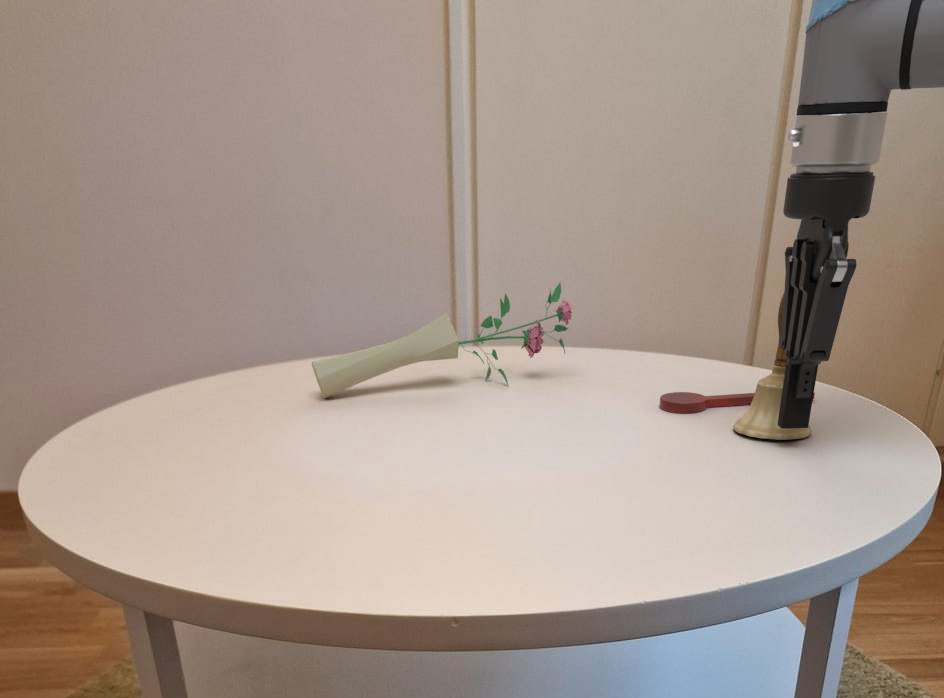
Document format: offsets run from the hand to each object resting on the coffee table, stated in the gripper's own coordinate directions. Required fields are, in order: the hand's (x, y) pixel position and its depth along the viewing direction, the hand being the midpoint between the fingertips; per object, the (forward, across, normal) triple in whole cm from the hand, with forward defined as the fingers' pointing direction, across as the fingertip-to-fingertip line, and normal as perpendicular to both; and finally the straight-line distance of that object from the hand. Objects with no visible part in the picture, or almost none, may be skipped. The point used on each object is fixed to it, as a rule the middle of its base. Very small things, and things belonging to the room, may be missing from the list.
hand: (792, 426), depth 92 cm
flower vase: (+2, -31, -37) cm, 48 cm away
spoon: (+2, -18, -1) cm, 18 cm away
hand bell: (+2, -6, 0) cm, 6 cm away
